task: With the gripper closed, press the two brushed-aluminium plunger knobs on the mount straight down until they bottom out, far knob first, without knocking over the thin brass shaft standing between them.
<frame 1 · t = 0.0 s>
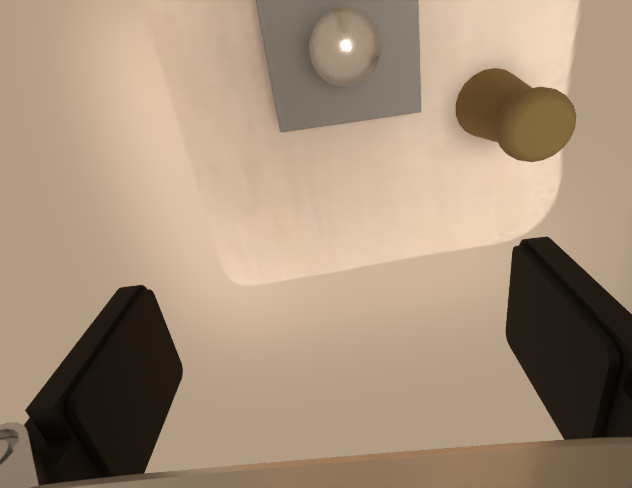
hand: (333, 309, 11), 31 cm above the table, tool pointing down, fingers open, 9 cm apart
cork: (488, 103, 38), on the table
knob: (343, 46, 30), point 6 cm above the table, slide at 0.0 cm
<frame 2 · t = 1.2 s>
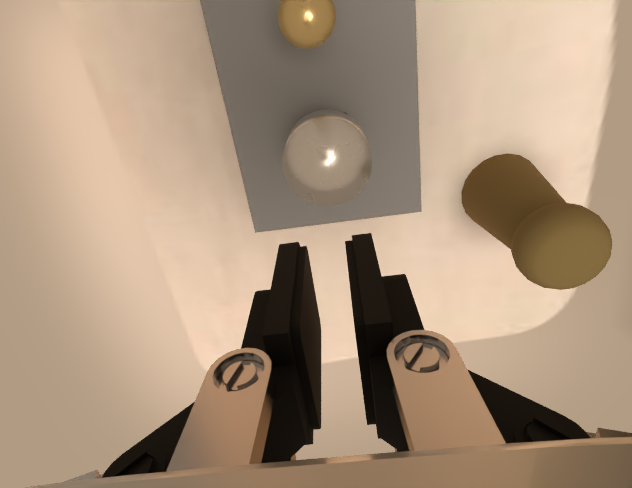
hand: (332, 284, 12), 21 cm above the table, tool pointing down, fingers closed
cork: (499, 190, 33), on the table
mount: (311, 19, 27), on the table
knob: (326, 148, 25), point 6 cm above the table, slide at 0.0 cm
brass shaft: (309, 18, 24), point 4 cm above the table, touching mount
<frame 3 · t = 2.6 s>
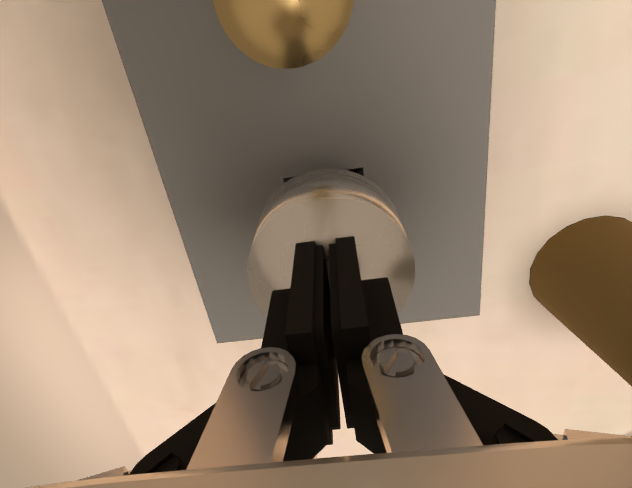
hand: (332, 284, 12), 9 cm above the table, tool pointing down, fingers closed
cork: (586, 266, 22), on the table
mount: (303, 6, 16), on the table
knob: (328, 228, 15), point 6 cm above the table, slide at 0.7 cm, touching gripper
brass shaft: (298, 3, 13), point 4 cm above the table, touching mount
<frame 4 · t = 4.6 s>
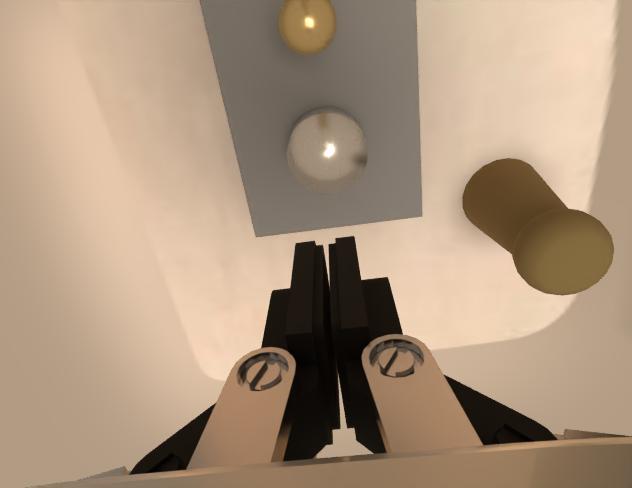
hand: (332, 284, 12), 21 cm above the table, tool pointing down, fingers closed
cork: (500, 195, 33), on the table
mount: (312, 24, 27), on the table
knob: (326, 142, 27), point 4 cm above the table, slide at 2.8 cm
brass shaft: (310, 23, 24), point 4 cm above the table, touching mount
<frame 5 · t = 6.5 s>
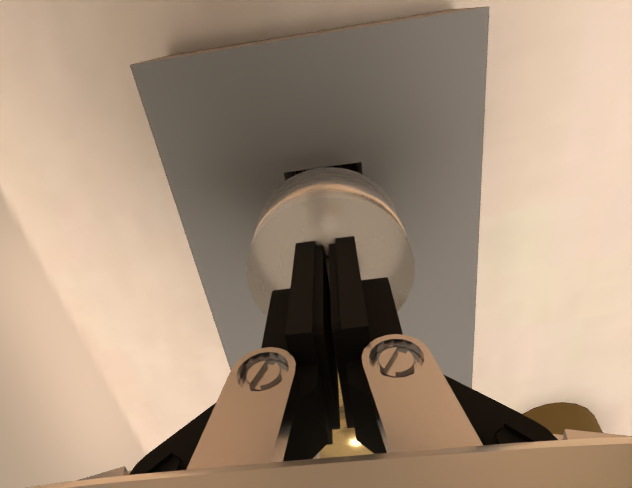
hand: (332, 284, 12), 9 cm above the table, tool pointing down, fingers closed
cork: (549, 430, 29), on the table
mount: (342, 289, 23), on the table
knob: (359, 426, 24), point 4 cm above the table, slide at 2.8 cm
brass shaft: (346, 337, 20), point 4 cm above the table, touching mount
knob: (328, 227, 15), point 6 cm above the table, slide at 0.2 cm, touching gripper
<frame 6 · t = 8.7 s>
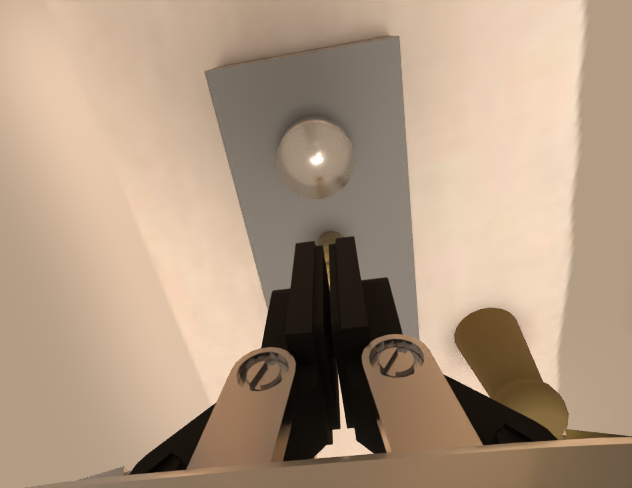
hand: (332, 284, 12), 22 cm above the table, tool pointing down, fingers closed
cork: (485, 332, 40), on the table
mount: (330, 221, 35), on the table
brass shaft: (331, 243, 31), point 4 cm above the table, touching mount
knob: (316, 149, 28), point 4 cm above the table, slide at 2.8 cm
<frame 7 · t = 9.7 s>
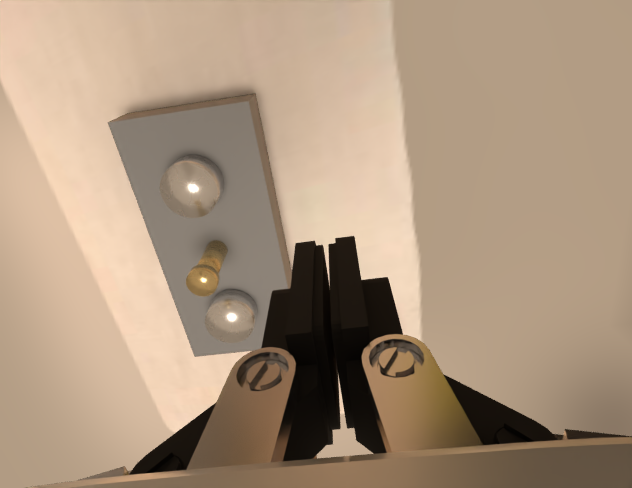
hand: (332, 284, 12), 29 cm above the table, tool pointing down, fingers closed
mount: (225, 231, 44), on the table
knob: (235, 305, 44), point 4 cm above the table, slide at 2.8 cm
brass shaft: (217, 249, 40), point 4 cm above the table, touching mount
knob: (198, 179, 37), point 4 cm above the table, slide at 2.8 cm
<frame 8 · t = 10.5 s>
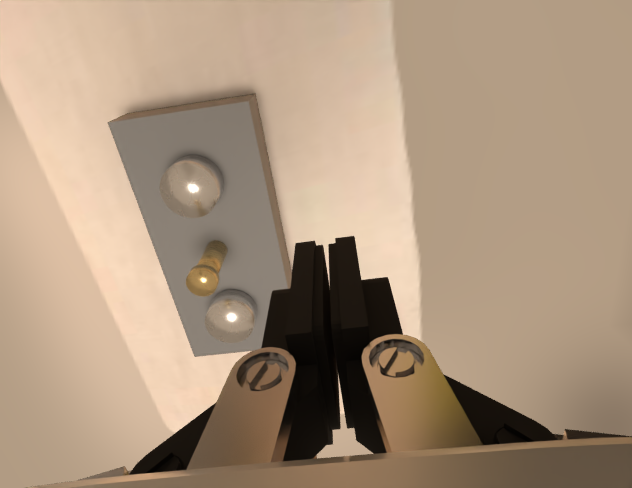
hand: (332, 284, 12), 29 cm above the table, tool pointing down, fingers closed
mount: (225, 231, 44), on the table
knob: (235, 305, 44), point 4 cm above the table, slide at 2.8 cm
brass shaft: (217, 249, 40), point 4 cm above the table, touching mount
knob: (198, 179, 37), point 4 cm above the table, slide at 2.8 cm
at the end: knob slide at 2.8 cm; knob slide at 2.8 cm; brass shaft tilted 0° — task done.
